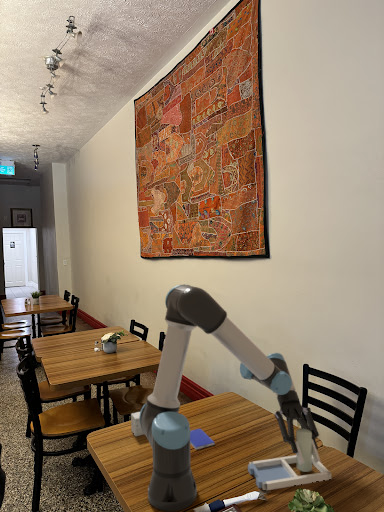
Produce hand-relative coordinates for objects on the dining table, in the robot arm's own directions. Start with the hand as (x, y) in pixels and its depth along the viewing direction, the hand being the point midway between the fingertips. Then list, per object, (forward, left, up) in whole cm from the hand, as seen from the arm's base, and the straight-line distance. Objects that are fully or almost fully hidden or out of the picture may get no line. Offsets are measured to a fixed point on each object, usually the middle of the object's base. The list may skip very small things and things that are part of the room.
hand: (309, 462), depth 119 cm
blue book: (-10, +43, -6) cm, 45 cm away
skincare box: (-23, +65, -5) cm, 69 cm away
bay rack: (-3, +6, -5) cm, 8 cm away
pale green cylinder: (+2, +3, -4) cm, 5 cm away
